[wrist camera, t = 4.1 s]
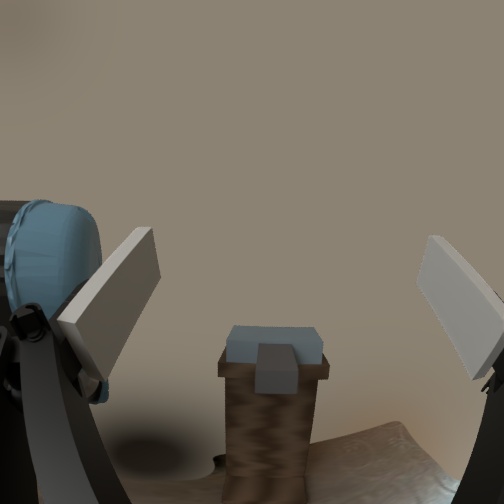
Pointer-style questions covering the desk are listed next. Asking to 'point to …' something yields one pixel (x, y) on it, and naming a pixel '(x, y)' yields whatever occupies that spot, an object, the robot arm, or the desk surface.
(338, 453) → the desk surface
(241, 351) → the grey toy mallet
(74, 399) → the robot arm
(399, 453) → the desk surface
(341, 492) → the desk surface
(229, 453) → the shelf stand
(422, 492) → the desk surface
